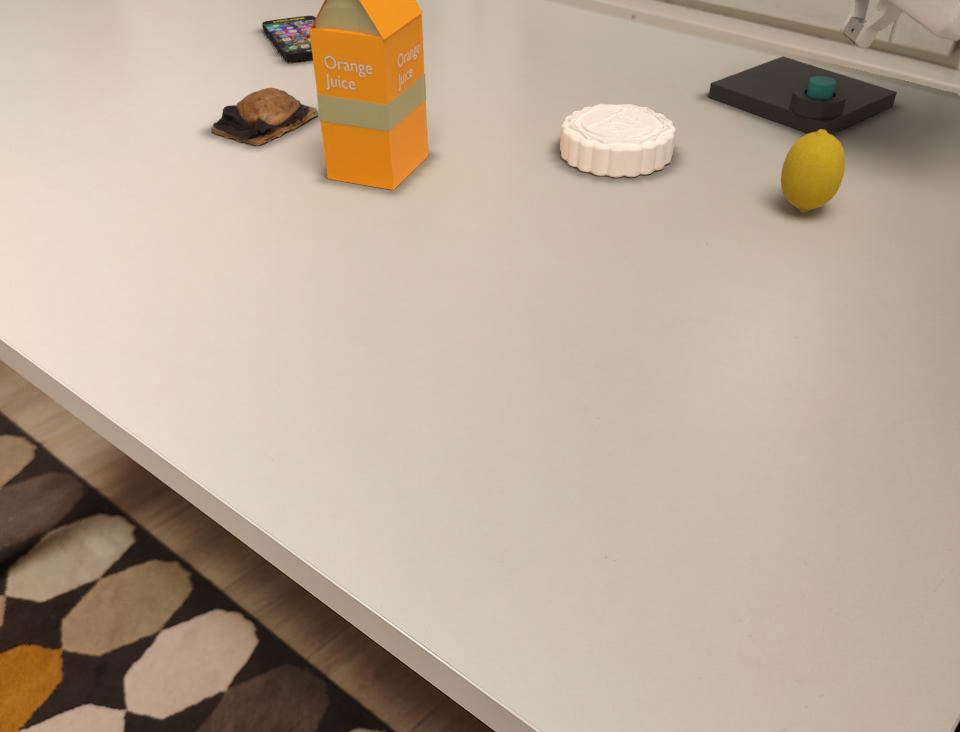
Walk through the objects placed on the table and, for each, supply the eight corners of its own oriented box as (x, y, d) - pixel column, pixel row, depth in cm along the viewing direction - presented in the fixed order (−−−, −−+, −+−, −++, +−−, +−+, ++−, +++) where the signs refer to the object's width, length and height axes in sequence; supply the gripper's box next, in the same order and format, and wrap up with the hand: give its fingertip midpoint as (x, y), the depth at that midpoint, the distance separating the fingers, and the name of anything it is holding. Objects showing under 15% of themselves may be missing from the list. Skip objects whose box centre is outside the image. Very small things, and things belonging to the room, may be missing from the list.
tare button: (837, 96, 104) (841, 80, 103) (822, 103, 103) (826, 87, 102) (816, 89, 106) (819, 73, 105) (800, 96, 105) (804, 79, 103)
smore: (270, 102, 113) (265, 70, 110) (324, 117, 109) (320, 84, 107) (204, 131, 106) (197, 98, 104) (259, 148, 103) (253, 114, 100)
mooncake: (628, 189, 95) (632, 155, 92) (536, 156, 101) (537, 122, 98) (694, 152, 101) (699, 118, 99) (604, 122, 107) (607, 90, 105)
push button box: (893, 106, 110) (902, 75, 108) (820, 139, 103) (827, 107, 101) (780, 69, 119) (786, 40, 117) (706, 98, 113) (710, 67, 110)
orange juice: (326, 178, 97) (299, -37, 84) (364, 145, 103) (345, -61, 90) (395, 190, 95) (379, -29, 81) (430, 156, 101) (421, -54, 87)
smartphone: (284, 55, 121) (259, 21, 132) (285, 63, 122) (260, 28, 132) (343, 47, 123) (314, 14, 134) (344, 55, 124) (315, 21, 134)
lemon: (810, 231, 88) (831, 147, 83) (761, 210, 91) (778, 129, 86) (844, 212, 91) (866, 130, 85) (795, 193, 94) (814, 113, 88)
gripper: (1050, -58, 79) (943, 98, 88) (894, -149, 90) (814, -2, 99) (1005, -73, 76) (900, 91, 85) (850, -165, 87) (772, -12, 96)
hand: (853, 40), depth 92 cm, fingers closed
